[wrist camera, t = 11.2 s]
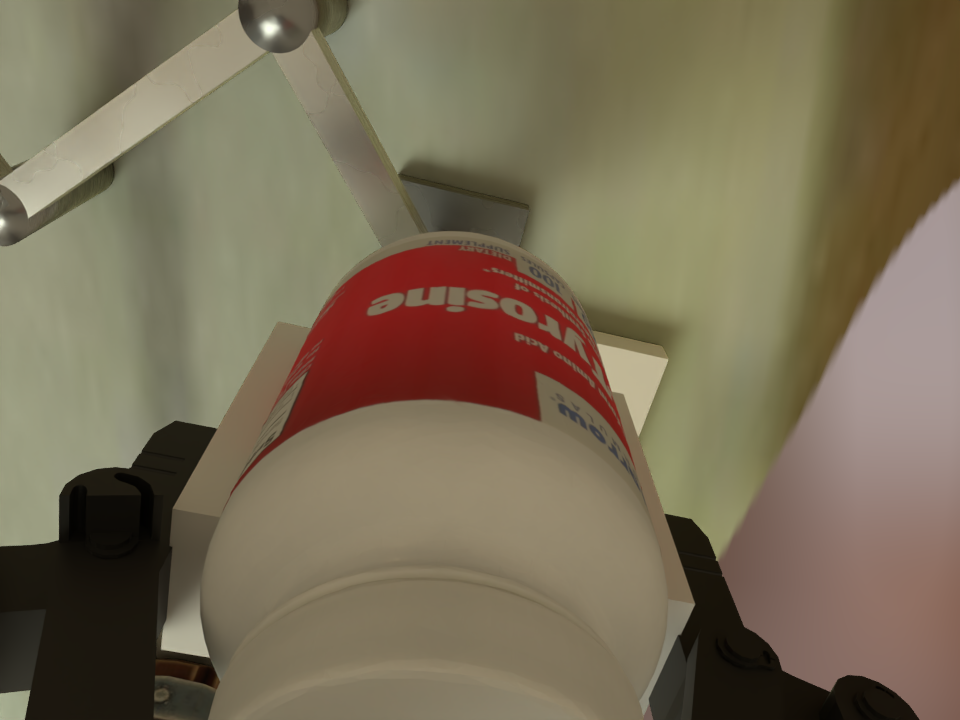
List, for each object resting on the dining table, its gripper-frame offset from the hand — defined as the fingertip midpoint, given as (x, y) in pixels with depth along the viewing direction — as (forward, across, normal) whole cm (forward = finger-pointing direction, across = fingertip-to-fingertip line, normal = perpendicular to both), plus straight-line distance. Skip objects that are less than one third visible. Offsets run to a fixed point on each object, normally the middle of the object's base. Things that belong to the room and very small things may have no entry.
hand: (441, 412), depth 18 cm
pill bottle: (+1, 0, +1) cm, 1 cm away
